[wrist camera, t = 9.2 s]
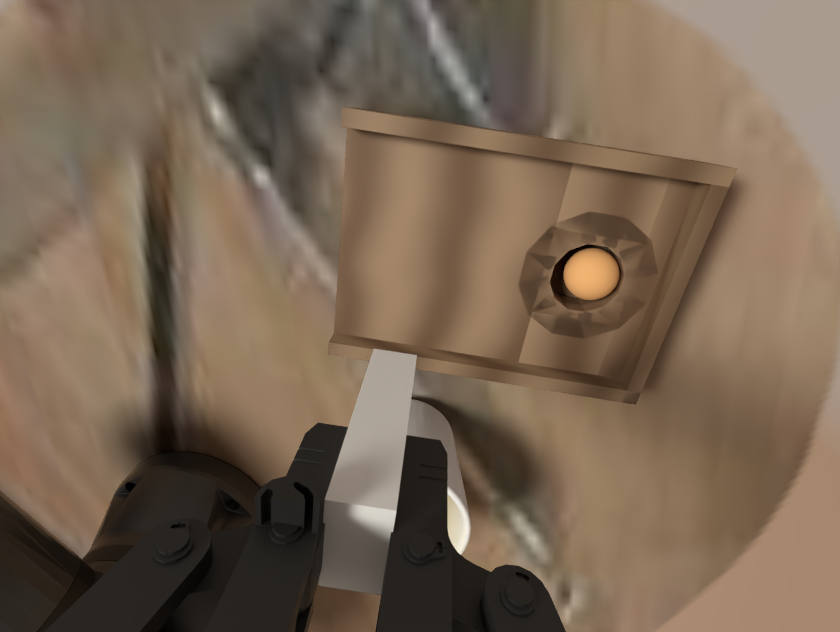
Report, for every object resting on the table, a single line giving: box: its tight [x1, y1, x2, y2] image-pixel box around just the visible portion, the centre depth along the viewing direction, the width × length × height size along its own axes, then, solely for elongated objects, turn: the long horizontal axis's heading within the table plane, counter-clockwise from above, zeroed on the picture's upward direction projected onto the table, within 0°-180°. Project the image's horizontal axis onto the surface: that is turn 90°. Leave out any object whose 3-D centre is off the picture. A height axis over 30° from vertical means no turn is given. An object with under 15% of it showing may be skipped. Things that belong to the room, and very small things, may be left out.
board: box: [328, 107, 737, 404], centre depth 29 cm, size 22×16×4 cm
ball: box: [564, 248, 619, 300], centre depth 30 cm, size 4×4×4 cm
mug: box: [407, 399, 471, 555], centre depth 34 cm, size 14×10×10 cm
